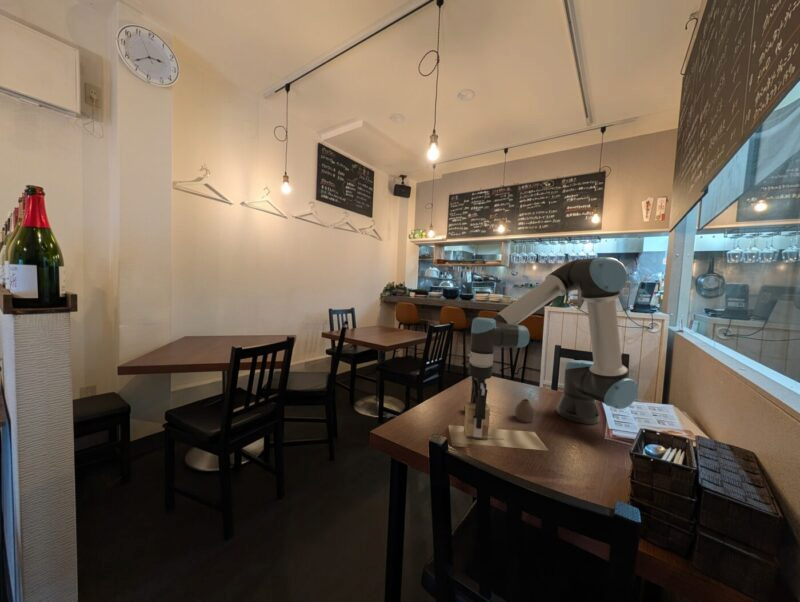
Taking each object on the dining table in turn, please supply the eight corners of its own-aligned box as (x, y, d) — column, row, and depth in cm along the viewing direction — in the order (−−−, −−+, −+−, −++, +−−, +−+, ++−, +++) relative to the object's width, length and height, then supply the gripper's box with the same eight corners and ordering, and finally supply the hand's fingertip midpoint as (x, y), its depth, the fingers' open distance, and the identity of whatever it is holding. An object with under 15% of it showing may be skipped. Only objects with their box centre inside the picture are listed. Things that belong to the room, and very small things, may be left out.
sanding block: (484, 432, 106) (486, 403, 106) (487, 439, 101) (489, 409, 101) (464, 430, 107) (465, 402, 106) (466, 437, 102) (468, 408, 101)
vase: (511, 421, 119) (513, 399, 118) (518, 416, 124) (520, 395, 123) (529, 428, 114) (531, 404, 114) (536, 422, 119) (538, 400, 119)
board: (534, 435, 109) (534, 432, 109) (548, 454, 97) (548, 450, 97) (448, 428, 110) (448, 425, 110) (452, 445, 98) (452, 442, 98)
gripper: (465, 357, 112) (460, 419, 113) (474, 371, 94) (468, 445, 95) (486, 358, 111) (481, 421, 113) (499, 373, 93) (493, 447, 95)
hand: (475, 432), depth 104 cm, fingers closed on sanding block, 5 cm apart
